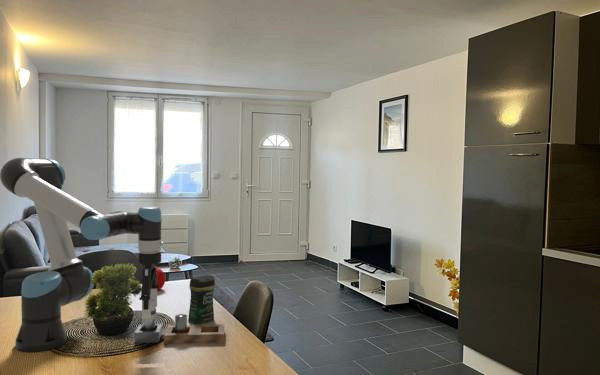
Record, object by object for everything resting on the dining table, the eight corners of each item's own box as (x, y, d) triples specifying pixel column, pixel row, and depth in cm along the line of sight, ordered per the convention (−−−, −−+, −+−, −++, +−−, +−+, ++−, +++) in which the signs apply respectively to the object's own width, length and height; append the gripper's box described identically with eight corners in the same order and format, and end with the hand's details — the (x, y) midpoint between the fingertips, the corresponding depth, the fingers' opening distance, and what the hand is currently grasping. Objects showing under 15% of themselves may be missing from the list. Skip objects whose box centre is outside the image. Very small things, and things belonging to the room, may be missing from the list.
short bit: (174, 340, 163) (174, 317, 163) (175, 336, 167) (175, 314, 167) (186, 340, 164) (186, 317, 163) (187, 336, 168) (187, 313, 167)
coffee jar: (197, 328, 179) (198, 279, 178) (185, 323, 184) (185, 276, 183) (217, 322, 186) (218, 275, 185) (205, 317, 191) (206, 272, 191)
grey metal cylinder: (140, 340, 162) (140, 303, 162) (142, 335, 167) (143, 299, 166) (154, 340, 163) (155, 303, 162) (156, 335, 168) (157, 299, 167)
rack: (163, 347, 160) (164, 335, 160) (167, 336, 170) (168, 325, 170) (223, 345, 163) (224, 334, 163) (224, 335, 173) (224, 324, 172)
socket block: (134, 345, 160) (134, 332, 160) (138, 337, 168) (139, 324, 168) (158, 344, 162) (158, 332, 161) (162, 336, 169) (162, 324, 169)
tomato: (164, 292, 227) (165, 270, 227) (141, 293, 224) (142, 270, 224) (164, 286, 237) (165, 265, 237) (142, 287, 234) (143, 266, 234)
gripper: (155, 258, 152) (155, 323, 153) (166, 245, 176) (165, 301, 177) (131, 258, 151) (131, 324, 151) (145, 245, 175) (145, 302, 176)
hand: (149, 312), depth 164 cm, fingers open, 13 cm apart
